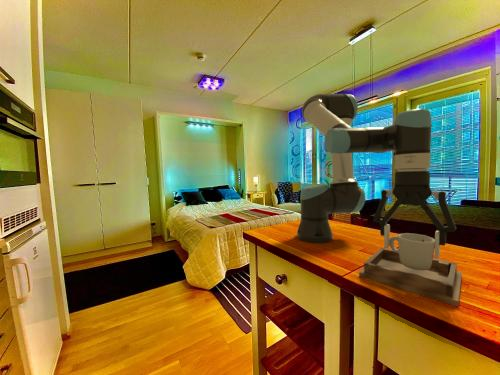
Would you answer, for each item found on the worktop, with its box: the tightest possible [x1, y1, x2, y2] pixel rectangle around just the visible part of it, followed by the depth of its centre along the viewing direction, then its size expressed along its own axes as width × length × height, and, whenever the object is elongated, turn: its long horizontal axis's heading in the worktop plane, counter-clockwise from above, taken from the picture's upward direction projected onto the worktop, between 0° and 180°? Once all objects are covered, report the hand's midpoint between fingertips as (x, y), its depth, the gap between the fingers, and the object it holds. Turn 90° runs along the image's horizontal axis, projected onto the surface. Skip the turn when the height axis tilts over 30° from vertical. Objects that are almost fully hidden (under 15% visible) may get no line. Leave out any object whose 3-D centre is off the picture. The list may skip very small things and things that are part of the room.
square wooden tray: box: [358, 247, 463, 308], centre depth 59 cm, size 20×18×4 cm
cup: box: [389, 232, 435, 270], centre depth 59 cm, size 11×8×8 cm
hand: (410, 251), depth 59 cm, fingers closed on cup, 10 cm apart
